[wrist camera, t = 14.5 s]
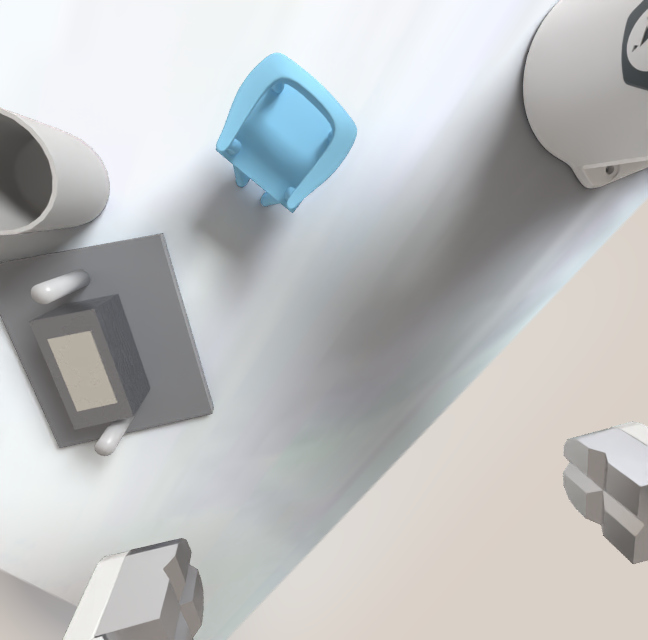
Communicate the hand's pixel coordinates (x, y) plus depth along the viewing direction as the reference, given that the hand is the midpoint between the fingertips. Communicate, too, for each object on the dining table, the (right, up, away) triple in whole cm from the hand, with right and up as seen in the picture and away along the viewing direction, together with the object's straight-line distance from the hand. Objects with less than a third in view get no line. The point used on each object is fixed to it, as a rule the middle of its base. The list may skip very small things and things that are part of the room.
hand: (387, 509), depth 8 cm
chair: (-5, +18, +25) cm, 31 cm away
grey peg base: (-20, +2, +27) cm, 34 cm away
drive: (-20, +1, +26) cm, 33 cm away
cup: (-23, +16, +23) cm, 36 cm away
